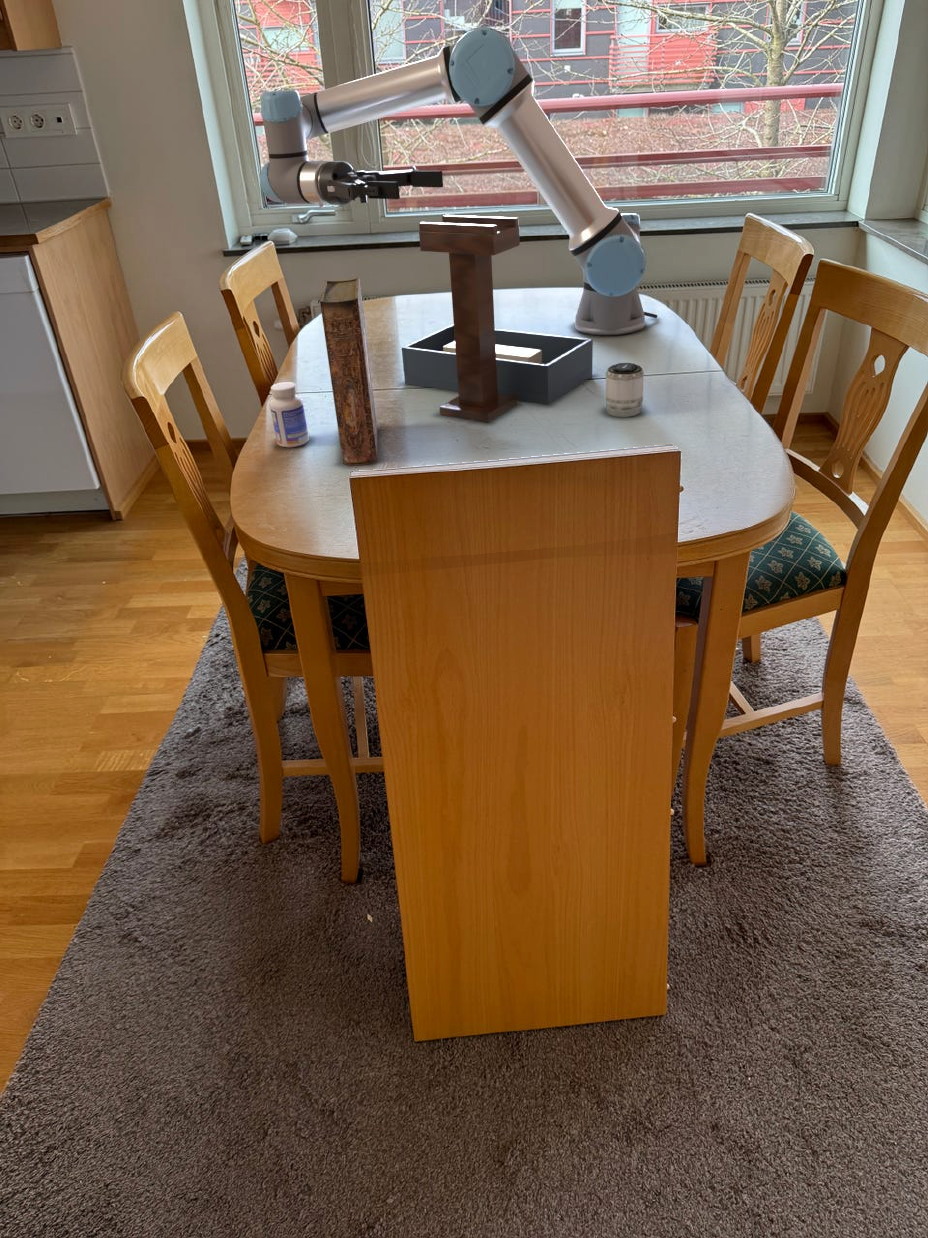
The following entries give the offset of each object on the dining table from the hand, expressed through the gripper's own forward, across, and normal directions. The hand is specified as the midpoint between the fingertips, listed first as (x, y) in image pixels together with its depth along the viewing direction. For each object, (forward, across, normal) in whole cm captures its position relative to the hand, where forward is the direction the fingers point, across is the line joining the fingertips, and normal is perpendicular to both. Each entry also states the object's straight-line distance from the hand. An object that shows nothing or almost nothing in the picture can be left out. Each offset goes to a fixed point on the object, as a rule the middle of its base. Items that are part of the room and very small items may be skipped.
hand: (420, 184), depth 164 cm
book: (+11, +38, -34) cm, 52 cm away
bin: (+14, 0, -34) cm, 37 cm away
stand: (+20, +16, -34) cm, 42 cm away
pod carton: (+13, 0, -32) cm, 35 cm away
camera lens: (+44, +6, -34) cm, 56 cm away
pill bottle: (-1, +41, -34) cm, 54 cm away
